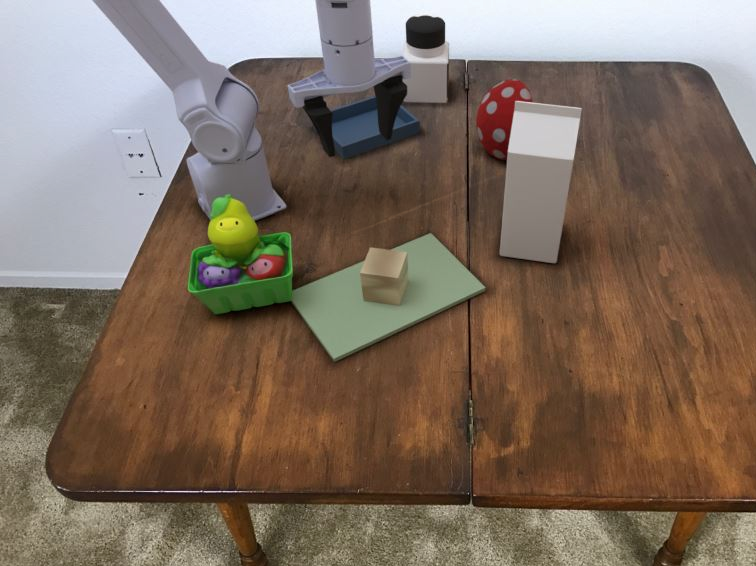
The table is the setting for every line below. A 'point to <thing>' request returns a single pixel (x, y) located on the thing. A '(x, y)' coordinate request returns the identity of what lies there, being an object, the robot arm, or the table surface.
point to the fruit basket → (240, 262)
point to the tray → (366, 127)
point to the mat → (378, 320)
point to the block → (384, 276)
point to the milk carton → (538, 179)
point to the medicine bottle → (427, 59)
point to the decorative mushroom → (499, 116)
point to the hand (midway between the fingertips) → (357, 144)
